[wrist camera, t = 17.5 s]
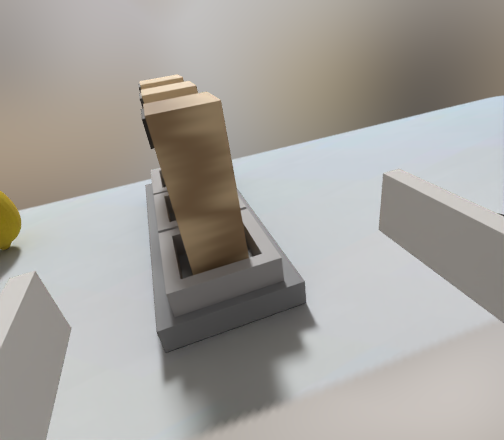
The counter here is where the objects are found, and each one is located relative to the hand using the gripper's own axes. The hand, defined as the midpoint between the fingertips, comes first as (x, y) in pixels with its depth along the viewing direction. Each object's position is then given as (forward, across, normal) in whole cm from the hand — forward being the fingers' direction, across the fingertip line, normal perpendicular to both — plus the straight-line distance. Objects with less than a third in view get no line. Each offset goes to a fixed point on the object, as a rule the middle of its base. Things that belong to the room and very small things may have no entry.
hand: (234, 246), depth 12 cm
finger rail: (+18, 0, -10) cm, 20 cm away
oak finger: (+10, 0, -8) cm, 12 cm away
